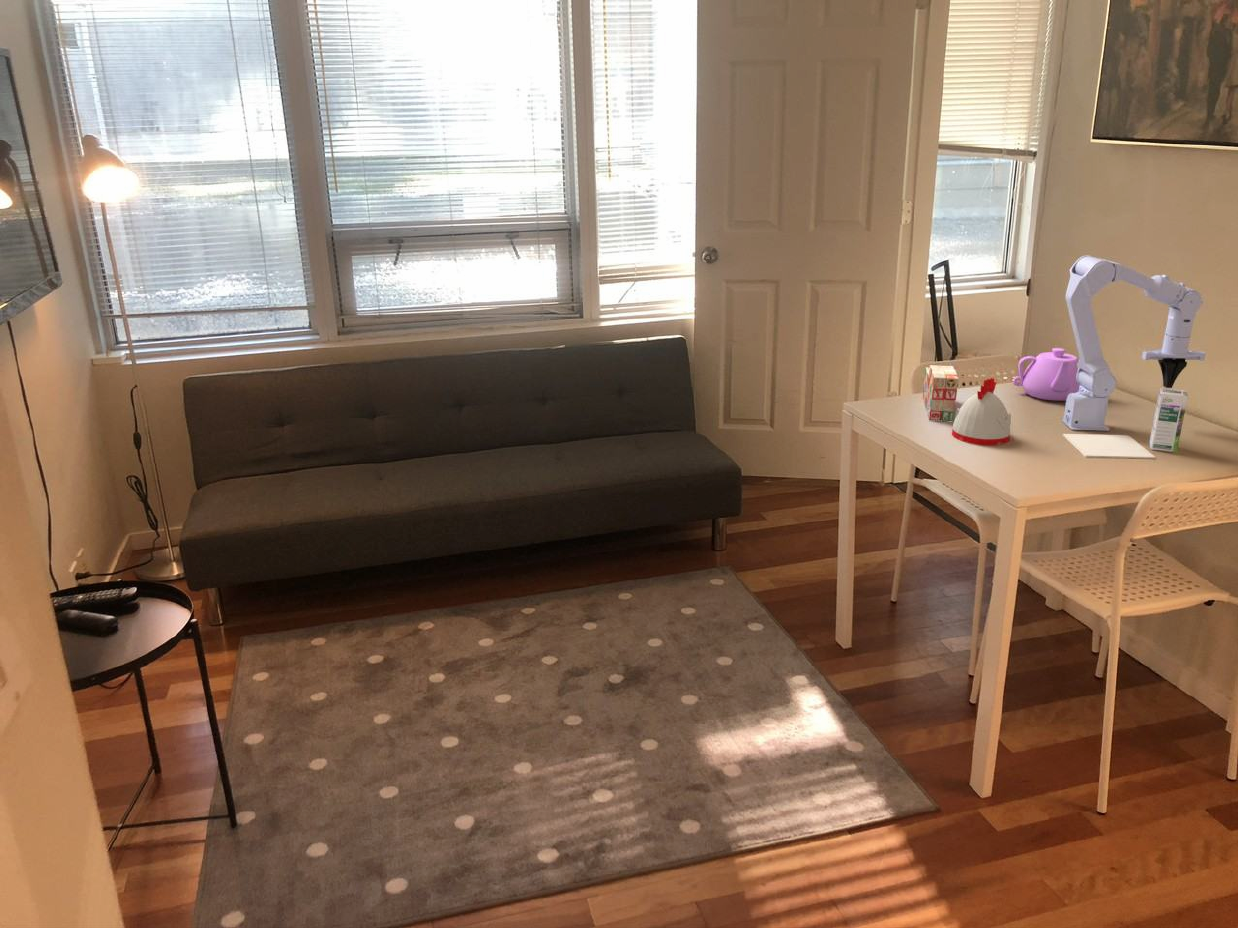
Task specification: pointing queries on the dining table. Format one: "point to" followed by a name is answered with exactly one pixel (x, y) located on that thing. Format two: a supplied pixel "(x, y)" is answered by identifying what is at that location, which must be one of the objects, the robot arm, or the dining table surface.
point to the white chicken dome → (983, 418)
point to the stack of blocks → (940, 392)
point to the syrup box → (1168, 419)
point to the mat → (1108, 446)
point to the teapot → (1049, 375)
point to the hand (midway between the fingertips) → (1167, 386)
